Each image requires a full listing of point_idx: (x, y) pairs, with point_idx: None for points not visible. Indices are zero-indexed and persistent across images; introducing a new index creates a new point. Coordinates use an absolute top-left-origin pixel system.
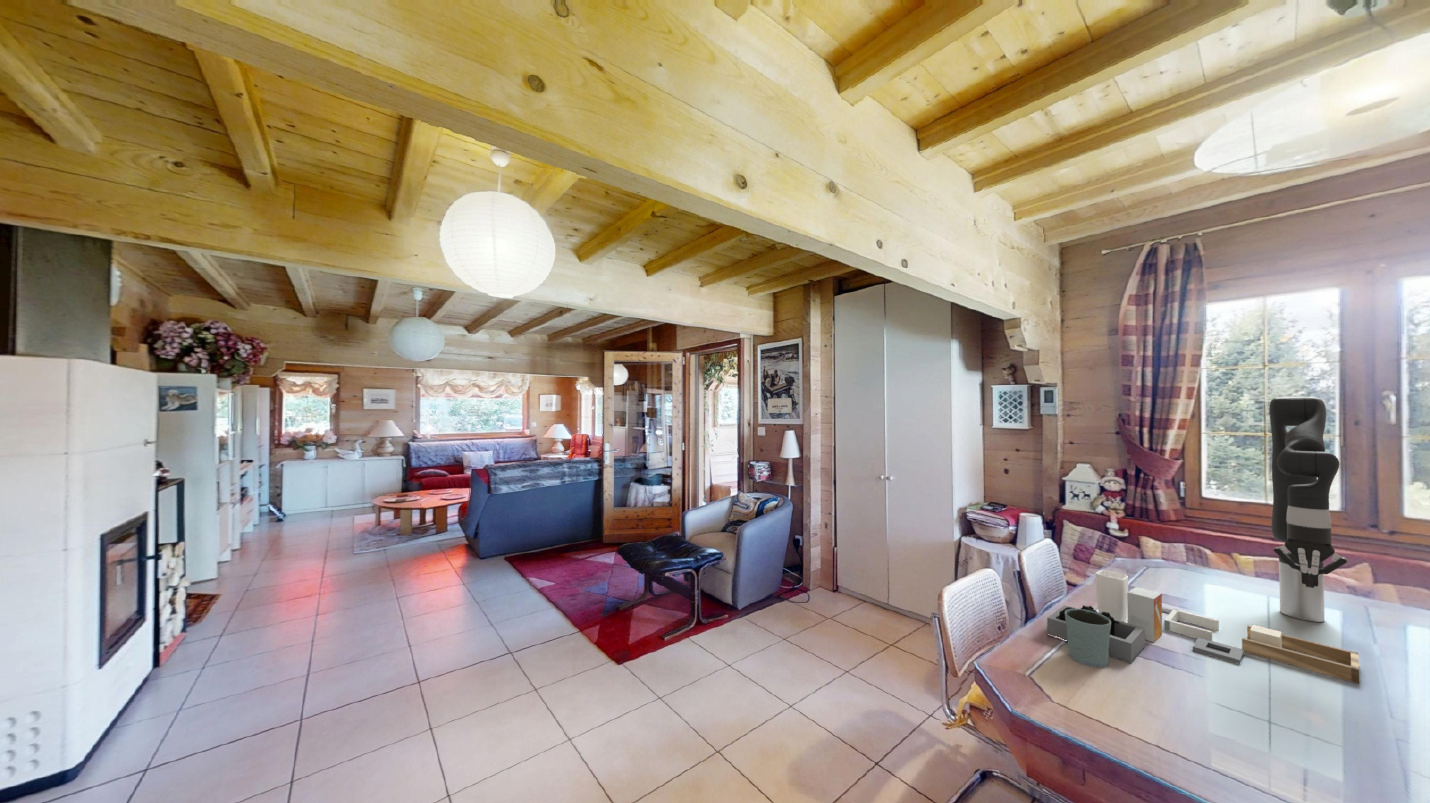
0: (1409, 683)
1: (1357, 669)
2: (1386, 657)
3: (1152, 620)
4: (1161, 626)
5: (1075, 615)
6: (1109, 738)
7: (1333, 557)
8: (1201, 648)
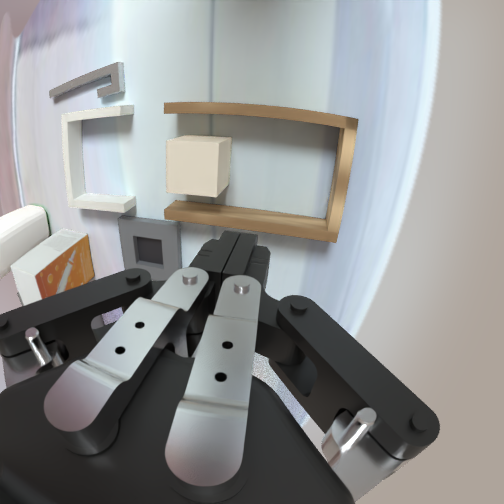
0: (409, 159)
1: (334, 241)
2: (400, 22)
3: None
4: (78, 245)
5: None
6: None
7: (332, 465)
8: None
